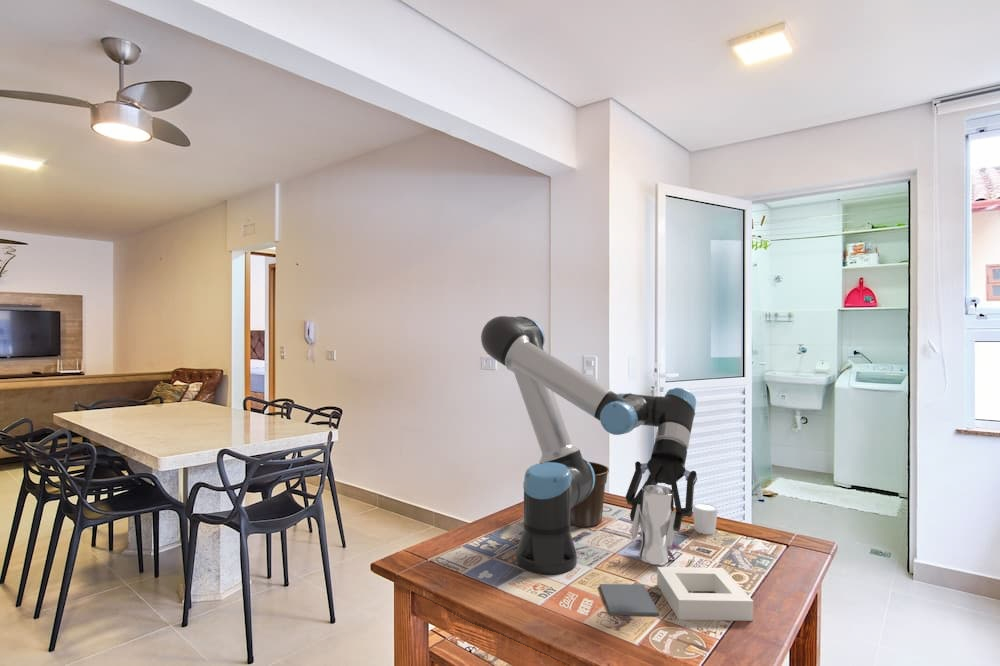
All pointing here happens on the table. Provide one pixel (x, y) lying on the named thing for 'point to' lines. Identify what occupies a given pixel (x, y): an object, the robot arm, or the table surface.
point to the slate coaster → (628, 599)
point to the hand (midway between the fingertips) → (650, 539)
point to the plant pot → (591, 501)
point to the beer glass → (655, 523)
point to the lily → (668, 547)
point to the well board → (704, 594)
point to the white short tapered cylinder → (705, 518)
